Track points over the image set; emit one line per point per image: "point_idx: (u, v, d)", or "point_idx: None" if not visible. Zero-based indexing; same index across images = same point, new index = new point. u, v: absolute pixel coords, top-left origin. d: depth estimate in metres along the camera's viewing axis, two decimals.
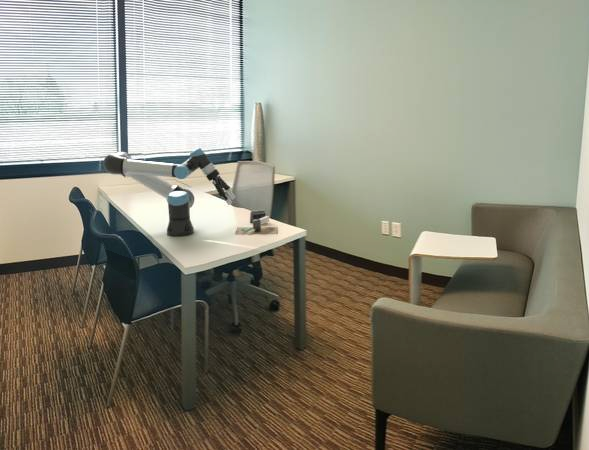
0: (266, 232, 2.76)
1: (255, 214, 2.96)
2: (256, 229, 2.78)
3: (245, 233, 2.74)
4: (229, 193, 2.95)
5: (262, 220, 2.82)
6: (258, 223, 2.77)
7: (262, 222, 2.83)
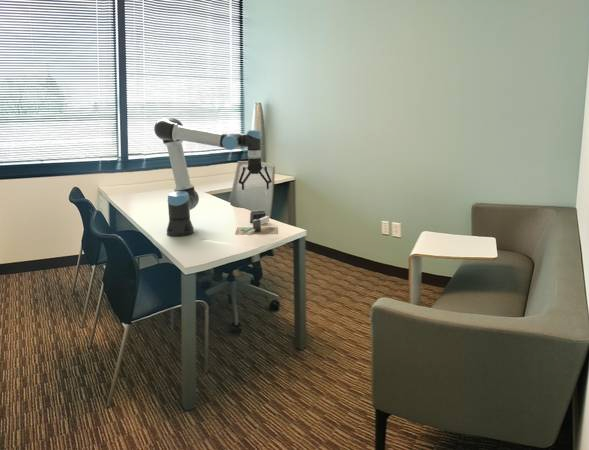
0: (266, 232, 2.76)
1: (255, 214, 2.96)
2: (256, 229, 2.78)
3: (245, 233, 2.74)
4: (265, 187, 2.83)
5: (262, 220, 2.82)
6: (258, 223, 2.77)
7: (262, 222, 2.83)
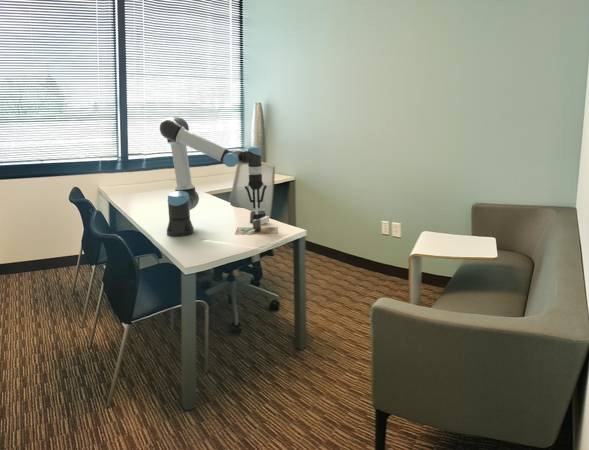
0: (266, 232, 2.76)
1: (255, 214, 2.96)
2: (256, 229, 2.78)
3: (245, 233, 2.74)
4: None
5: (262, 220, 2.82)
6: (258, 223, 2.77)
7: (262, 222, 2.83)
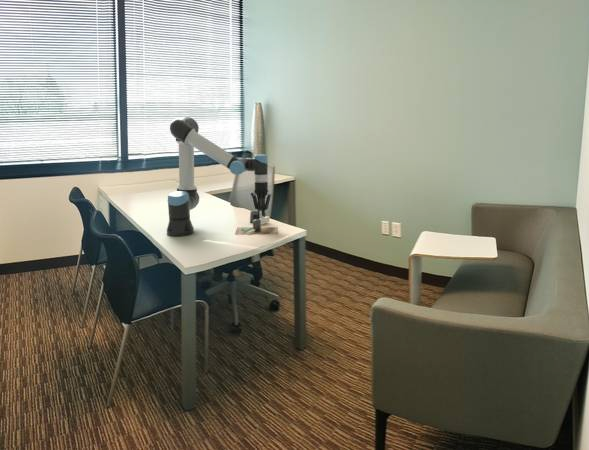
0: (266, 232, 2.76)
1: (255, 214, 2.96)
2: (256, 229, 2.78)
3: (245, 233, 2.74)
4: None
5: (262, 220, 2.82)
6: (258, 223, 2.77)
7: (262, 222, 2.83)
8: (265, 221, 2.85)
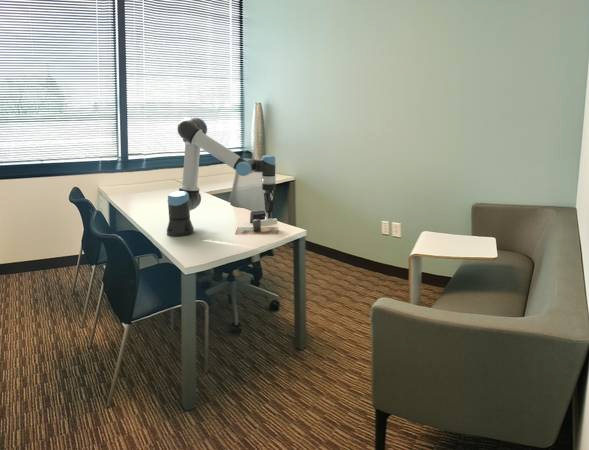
0: (266, 232, 2.76)
1: (255, 214, 2.96)
2: (254, 229, 2.78)
3: (245, 233, 2.74)
4: None
5: (265, 221, 2.79)
6: (255, 223, 2.77)
7: (265, 223, 2.80)
8: (270, 223, 2.81)
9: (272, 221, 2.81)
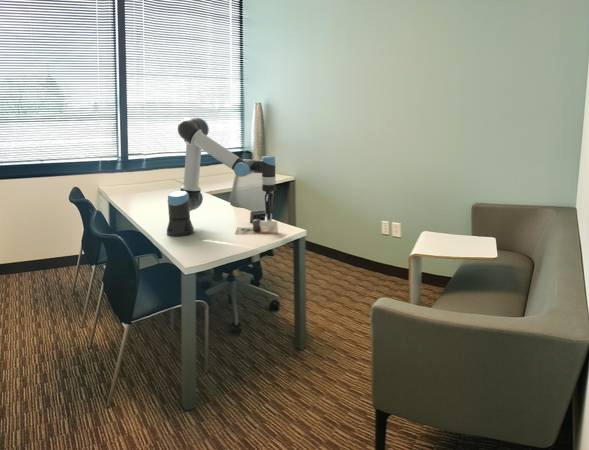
0: (266, 232, 2.76)
1: (255, 214, 2.96)
2: (253, 228, 2.79)
3: (245, 233, 2.74)
4: None
5: (264, 222, 2.77)
6: (253, 223, 2.77)
7: (264, 224, 2.77)
8: (269, 225, 2.76)
9: (271, 223, 2.76)
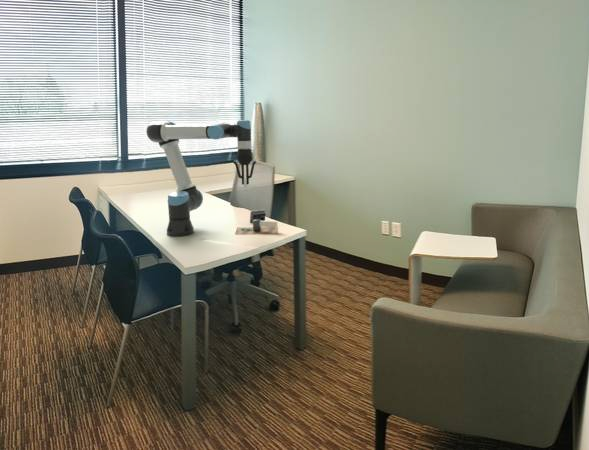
0: (266, 232, 2.76)
1: (255, 214, 2.96)
2: (253, 228, 2.79)
3: (245, 233, 2.74)
4: None
5: (264, 222, 2.77)
6: (253, 223, 2.77)
7: (264, 224, 2.77)
8: (269, 225, 2.76)
9: (271, 223, 2.76)
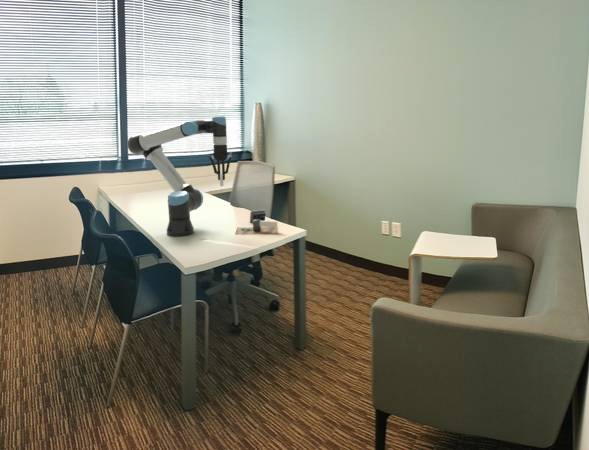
0: (266, 232, 2.76)
1: (255, 214, 2.96)
2: (253, 228, 2.79)
3: (245, 233, 2.74)
4: None
5: (264, 222, 2.77)
6: (253, 223, 2.77)
7: (264, 224, 2.77)
8: (269, 225, 2.76)
9: (271, 223, 2.76)
